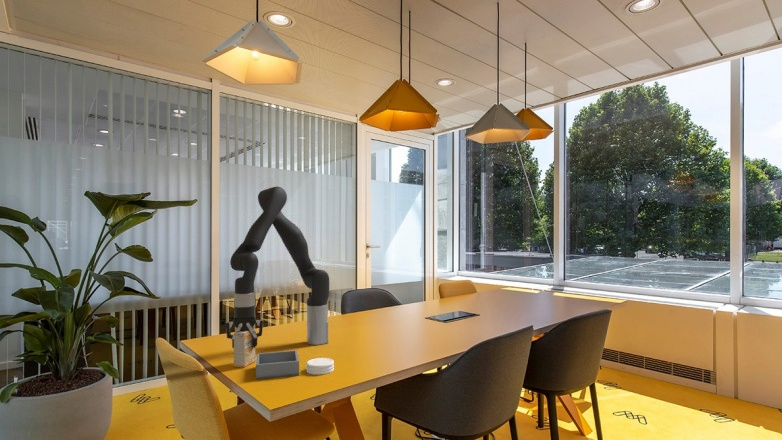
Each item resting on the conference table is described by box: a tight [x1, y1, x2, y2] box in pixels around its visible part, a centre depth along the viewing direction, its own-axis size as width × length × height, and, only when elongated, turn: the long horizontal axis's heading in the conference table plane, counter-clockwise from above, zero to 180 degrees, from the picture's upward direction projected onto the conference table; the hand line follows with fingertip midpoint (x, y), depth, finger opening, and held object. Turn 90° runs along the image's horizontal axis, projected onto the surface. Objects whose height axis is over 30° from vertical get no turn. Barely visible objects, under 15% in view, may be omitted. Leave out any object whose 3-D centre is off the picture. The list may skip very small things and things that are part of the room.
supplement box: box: [233, 327, 256, 369], centre depth 167 cm, size 8×5×13 cm, turn 168°
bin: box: [255, 349, 300, 381], centre depth 158 cm, size 15×15×5 cm
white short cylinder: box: [305, 357, 335, 376], centre depth 158 cm, size 10×10×4 cm
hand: (244, 348), depth 167 cm, fingers closed on supplement box, 6 cm apart
